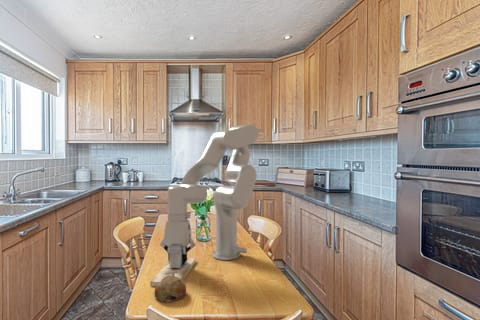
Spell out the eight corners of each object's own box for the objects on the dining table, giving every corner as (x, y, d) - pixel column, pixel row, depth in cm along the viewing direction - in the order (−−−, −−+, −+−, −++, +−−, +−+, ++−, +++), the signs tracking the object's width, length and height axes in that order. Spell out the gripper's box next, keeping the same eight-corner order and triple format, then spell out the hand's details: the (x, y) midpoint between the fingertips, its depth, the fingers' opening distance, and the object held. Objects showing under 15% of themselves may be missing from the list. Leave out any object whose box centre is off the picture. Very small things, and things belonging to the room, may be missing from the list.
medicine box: (180, 268, 115) (180, 246, 115) (169, 268, 116) (169, 245, 116) (186, 261, 123) (186, 240, 123) (175, 260, 124) (175, 240, 123)
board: (195, 261, 127) (195, 258, 127) (178, 287, 103) (178, 282, 103) (172, 261, 128) (172, 257, 128) (150, 285, 104) (150, 281, 104)
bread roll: (156, 314, 93) (157, 296, 90) (151, 288, 101) (153, 270, 98) (187, 307, 97) (189, 290, 94) (180, 282, 105) (182, 265, 102)
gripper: (200, 215, 121) (200, 260, 122) (160, 214, 123) (160, 258, 124) (195, 219, 114) (196, 267, 114) (153, 218, 116) (153, 265, 116)
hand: (177, 262), depth 119 cm, fingers closed on medicine box, 4 cm apart
